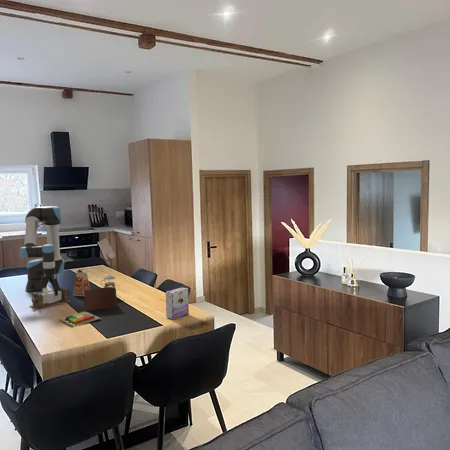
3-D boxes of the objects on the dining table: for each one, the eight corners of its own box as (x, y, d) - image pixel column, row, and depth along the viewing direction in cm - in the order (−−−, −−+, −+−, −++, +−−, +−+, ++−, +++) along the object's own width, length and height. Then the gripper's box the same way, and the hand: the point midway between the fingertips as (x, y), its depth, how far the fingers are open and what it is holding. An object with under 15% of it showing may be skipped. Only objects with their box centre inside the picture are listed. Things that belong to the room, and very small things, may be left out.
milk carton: (84, 296, 309) (83, 268, 307) (73, 295, 310) (71, 268, 309) (91, 293, 317) (90, 266, 316) (79, 292, 319) (78, 266, 318)
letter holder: (116, 308, 278) (116, 286, 277) (84, 311, 272) (84, 289, 271) (115, 304, 288) (114, 283, 287) (84, 307, 281) (83, 286, 280)
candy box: (182, 312, 266) (181, 286, 265) (189, 314, 262) (188, 288, 261) (165, 318, 256) (165, 291, 254) (172, 320, 252) (172, 292, 250)
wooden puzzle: (58, 321, 253) (58, 315, 253) (88, 314, 266) (88, 309, 266) (71, 328, 240) (71, 322, 240) (102, 320, 253) (102, 314, 253)
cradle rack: (29, 306, 282) (29, 293, 281) (63, 299, 301) (62, 286, 300) (37, 309, 276) (36, 295, 275) (70, 301, 295) (70, 288, 294)
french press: (113, 298, 301) (112, 263, 299) (98, 297, 304) (96, 263, 301) (119, 295, 311) (118, 261, 309) (104, 294, 313) (103, 260, 311)
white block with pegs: (31, 304, 280) (30, 295, 279) (64, 296, 299) (64, 288, 298) (34, 305, 277) (34, 296, 277) (68, 297, 296) (68, 289, 295)
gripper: (34, 266, 291) (35, 297, 293) (53, 270, 275) (55, 302, 277) (44, 264, 297) (46, 294, 299) (64, 268, 281) (65, 300, 283)
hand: (50, 298), depth 288 cm, fingers open, 13 cm apart
